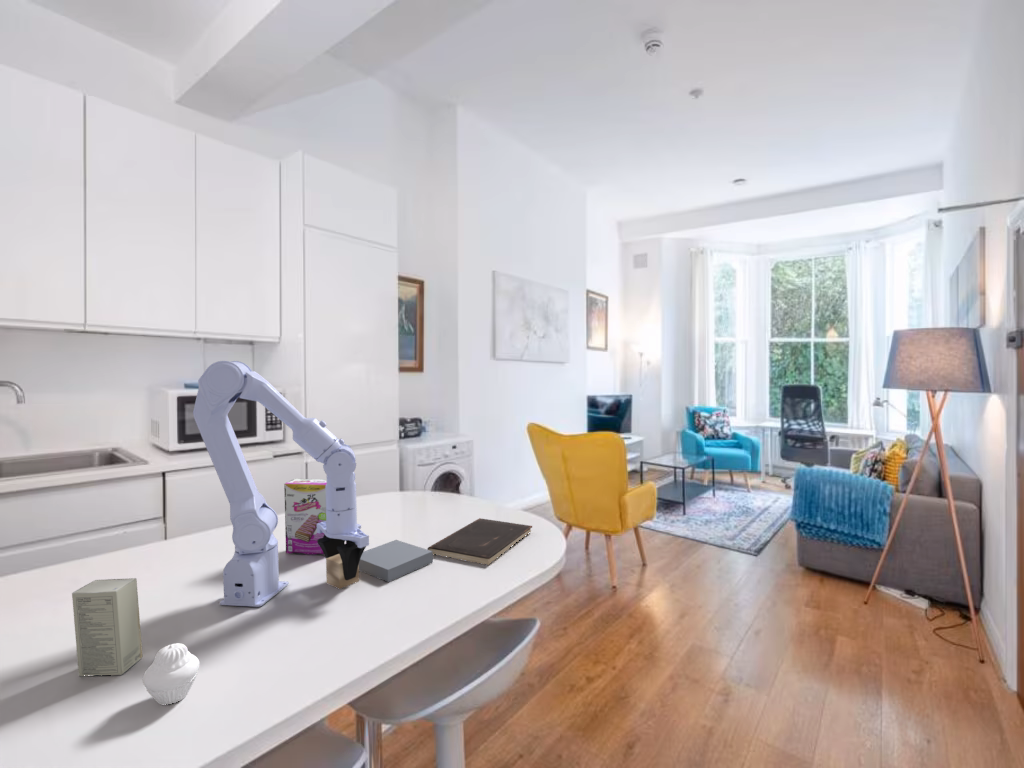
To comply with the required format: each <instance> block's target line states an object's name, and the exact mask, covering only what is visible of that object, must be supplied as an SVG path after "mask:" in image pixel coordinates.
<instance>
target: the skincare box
mask: <svg viewBox="0 0 1024 768" xmlns="http://www.w3.org/2000/svg"><path fill="white" fill-rule="evenodd" d="M137 582H138V580H137V578H136V577H134V578H133V577H132V578H131V577H130V578H111V579H109V578H108V579H106V578H105V579H95V580H93V581H91V582H89V583H87V584H85V585H84V586H82V587H80V588H78V589H76V590H75V591H73V592H71V597H72V599H71V600H72V611H73V620H74V622H73V623H74V631H75V632H74V634H75V645H76V646H75V648H76V656H77V657H76V658H77V660H76V661H77V668H78V669H77V670H78V671H77V672H78V677H89V676H88V675H101V676H100V677H102V675H111V676H121V675H124V674H125V672H127V671H128V670H129V669H130V668H132V666H135V664H137V663H138V661H140V660H141V659H142V658H143V648H142V647H143V646H142V635H141V633H142V632H141V620H140V617H141V616H140V607H139V605H140V604H139V594H138V583H137ZM84 675H85V676H84Z"/></svg>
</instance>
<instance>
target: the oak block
mask: <svg viewBox="0 0 1024 768" xmlns="http://www.w3.org/2000/svg"><path fill="white" fill-rule="evenodd" d="M325 567H326V569H325V570H326V571H325V572H326V574H325V575H326V584H327V583H328V584H327V585H329V584H330V586H331V585H332V587H335V588H336V587H337V588H336V589H338V588H339V590H341V588H342V589H344V588H347V587H349V586H350V584H351V585H354V584H356V583H358V582H360V571H359V565H358V569H357V573H356V577H355V578H352V579H350V580H345V578H344V574H343V565H342V560H341V557H340V554H337V555H334V556H331V557H329V558H325ZM355 582H356V583H355ZM353 583H354V584H353ZM348 585H349V586H348ZM343 587H344V588H343Z"/></svg>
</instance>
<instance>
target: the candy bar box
mask: <svg viewBox="0 0 1024 768" xmlns="http://www.w3.org/2000/svg"><path fill="white" fill-rule="evenodd" d="M326 484H327V479H317V478H315V479H312V478H293V479H291V480H289V481H286V482H285V483H283V485H284V488H283V489H284V490H283V491H284V515H285V516H284V517H285V518H284V520H285V522H284V525H285V529H284V530H285V531H284V532H285V554H292V555H293V554H294V555H316V556H325V555H324V553H323V551H322V549H321V547H320V546H319V544H318V543H317V540H318V539H320V538H323V536H324V533H321V534H319V533H317V524H318V523H321V522H325V521H326V490H325V486H326Z"/></svg>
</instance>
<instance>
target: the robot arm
mask: <svg viewBox="0 0 1024 768" xmlns="http://www.w3.org/2000/svg"><path fill="white" fill-rule="evenodd" d="M197 383H198V389H197V394H196V396H195V398H196V399H195V402H194V406H193V411H192V415H193V418H194V422H195V424H196V426H197V428H198V431H199V434H200V436H201V439H202V441H203V443H204V446H205V449H206V451H207V452H208V455H209V458H210V459H211V462H212V465H213V467H214V469H215V471H216V474H217V477H218V479H219V482H220V484H221V487H222V490H223V491H224V494H225V496H226V499H227V501H228V503H229V513H230V514H229V518H230V520H229V521H230V522H231V525H232V534H231V536H232V537H231V539H232V543H233V544H234V553H233V556H232V558H231V559H230V560H229V561H227V563H226V564H225V566H224V568H223V573H222V576H223V578H222V579H223V599H222V600H221V601H219V605H220V606H234V607H235V606H237V607H255V608H256V607H258V608H259V607H262V606H263V605H265V604H266V603H267V602H268V601H270V600H271V599H272V598H273V597H274V596H276V595H277V594H279V592H281V591H282V590H283V589H285V588H286V587H287V586H289V584H290V583H289V581H285V580H284V581H282V580H280V575H279V544H278V543H279V542H278V540H279V539H277V538H276V537H275V535H274V533H273V532H274V531H275V530H276V528H277V526H278V523H279V516H278V514H277V512H276V511H275V510H274V509H273V508H272V507H271V506H269V504H268V503H267V501H266V498H265V497H264V496H263V494H262V493H260V492H259V489H258V487H257V484H256V482H255V480H254V478H253V474H252V473H251V470H250V468H249V465H248V463H247V461H246V458H245V455H244V453H243V450H242V448H241V444H240V442H239V441H238V438H237V435H236V433H235V431H234V428H233V426H232V423H231V421H230V418H229V416H228V414H229V412H230V411H231V410H232V408H233V406H234V405H235V403H236V401H237V400H238V399H243V400H247V401H253V402H258V403H260V404H261V405H262V406H263V407H264V408H265V409H267V410H268V411H269V412H270V413H271V414H273V415H274V416H275V417H276V418H278V420H280V421H281V422H282V423H284V424H285V425H286V426H287V427H288V428H290V429H291V430H292V441H294V442H295V444H297V445H298V446H300V448H301V449H303V451H305V452H306V453H307V454H308V455H310V457H312V459H314V460H315V461H316V462H318V463H321V464H323V465H322V468H323V471H324V473H325V474H326V480H327V484H326V486H325V490H326V521H325V522H321V523H318V524H317V533H319V534H321V533H324V536H323V538H320V539H318V540H317V543H318V544H319V546H320V547H321V549H322V551H323V553H324V555H323V556H324V557H325V559H326V558H329V557H331V556H334V555H337V554H340V557H341V560H342V565H343V574H344V578H345V580H350V579H352V578H355V577H356V573H357V569H358V565H359V561H360V558H361V556H362V553H363V552H364V551H365V549H366V548H367V547H368V546H370V536H369V534H367V533H365V532H364V531H362V529H361V528H362V524H361V523H358V519H357V518H358V515H357V513H358V512H357V511H358V510H357V483H356V473H355V470H356V468H357V463H356V460H357V459H356V454H355V452H354V450H353V449H352V447H351V446H350V445H349V444H346V443H345V440H344V439H343V438H340V439H339V438H338V437H337V436H336V435H335V434H334V433H333V432H332V431H330V430H329V429H328V428H327V427H326V426H327V423H326V421H324V420H323V419H321V420H318V418H316V417H305V416H304V415H303V414H302V412H301V411H299V410H298V409H297V408H296V407H295V406H294V405H293V404H292V403H291V402H290V401H289V400H288V399H287V398H286V397H285V396H284V395H282V393H281V392H279V390H278V389H276V388H275V386H274V385H273V384H272V383H270V381H268V380H267V379H266V378H264V377H263V376H262V375H261V374H259V373H258V372H257V371H254V370H252V369H251V367H250V366H249V365H248V364H246V363H245V362H242V361H239V360H231V361H229V360H220V361H216V362H213V363H212V364H210V365H209V366H208V367H207V368H206V369H205V371H204V372H203V373H202V375H201V376H200V377H199V379H198V381H197Z"/></svg>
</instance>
